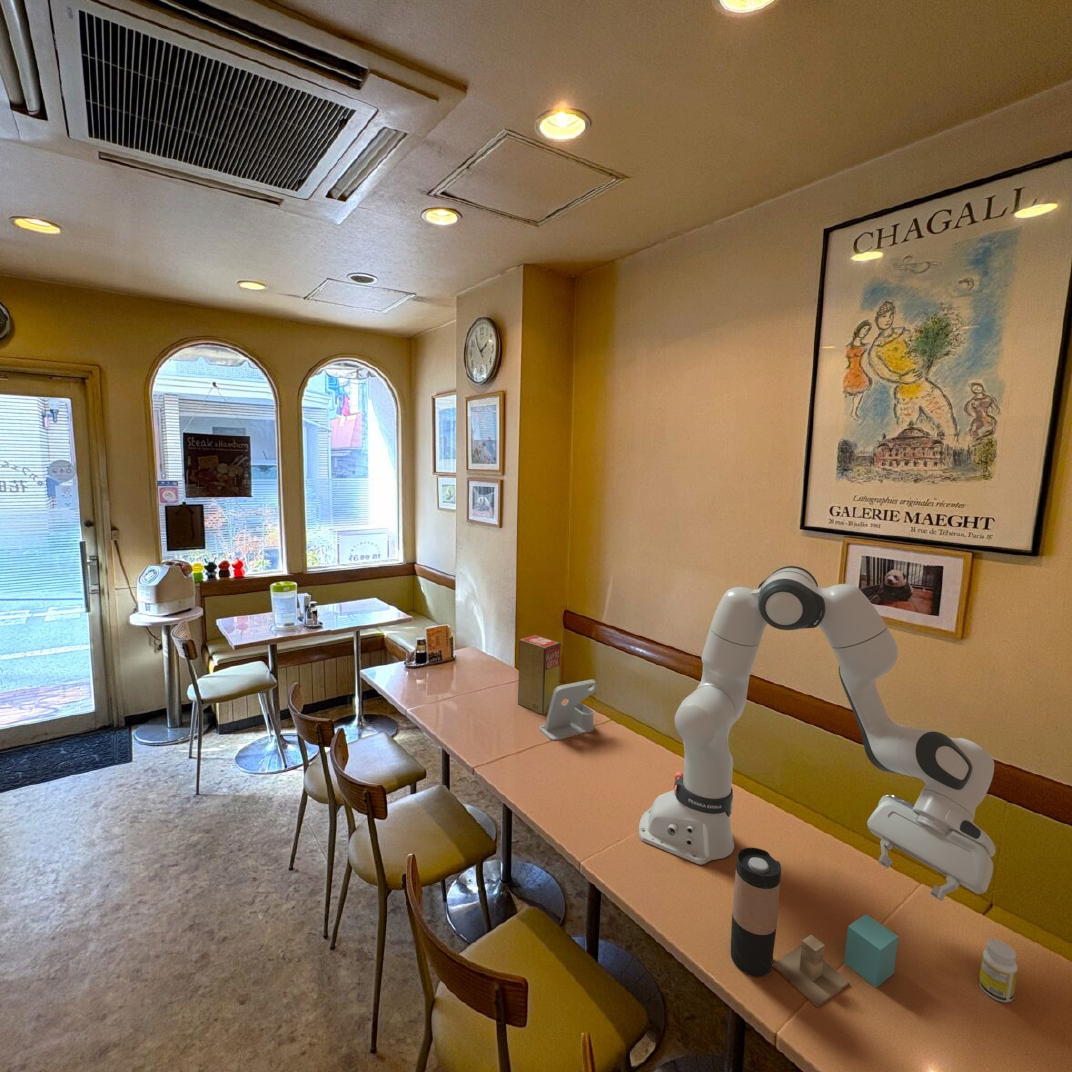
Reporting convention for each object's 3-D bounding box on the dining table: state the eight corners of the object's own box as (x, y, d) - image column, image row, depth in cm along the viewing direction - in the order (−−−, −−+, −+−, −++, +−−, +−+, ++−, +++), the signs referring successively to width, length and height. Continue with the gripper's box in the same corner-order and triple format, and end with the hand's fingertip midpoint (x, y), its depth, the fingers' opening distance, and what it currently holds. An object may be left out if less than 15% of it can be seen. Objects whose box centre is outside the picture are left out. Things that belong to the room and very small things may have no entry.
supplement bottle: (997, 978, 102) (1003, 936, 101) (1020, 1003, 97) (1027, 960, 96) (971, 978, 102) (977, 937, 101) (993, 1003, 97) (999, 960, 96)
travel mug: (728, 969, 103) (735, 869, 100) (729, 937, 110) (736, 842, 107) (773, 984, 100) (782, 881, 97) (772, 949, 107) (781, 853, 104)
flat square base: (772, 966, 103) (775, 934, 103) (803, 945, 108) (806, 915, 107) (818, 1007, 96) (821, 973, 95) (849, 983, 100) (852, 951, 99)
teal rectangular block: (844, 962, 105) (848, 926, 104) (862, 949, 107) (866, 913, 106) (875, 988, 100) (880, 950, 99) (893, 973, 103) (898, 936, 102)
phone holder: (580, 718, 201) (582, 669, 198) (596, 730, 192) (598, 679, 190) (537, 728, 193) (538, 677, 190) (552, 741, 184) (554, 688, 181)
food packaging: (560, 707, 209) (561, 642, 205) (542, 715, 202) (544, 648, 199) (533, 696, 218) (535, 634, 214) (516, 704, 211) (517, 639, 208)
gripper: (881, 783, 118) (849, 841, 115) (998, 841, 101) (965, 911, 97) (890, 797, 121) (859, 854, 118) (1006, 855, 104) (974, 924, 100)
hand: (908, 880), depth 107 cm, fingers open, 8 cm apart
